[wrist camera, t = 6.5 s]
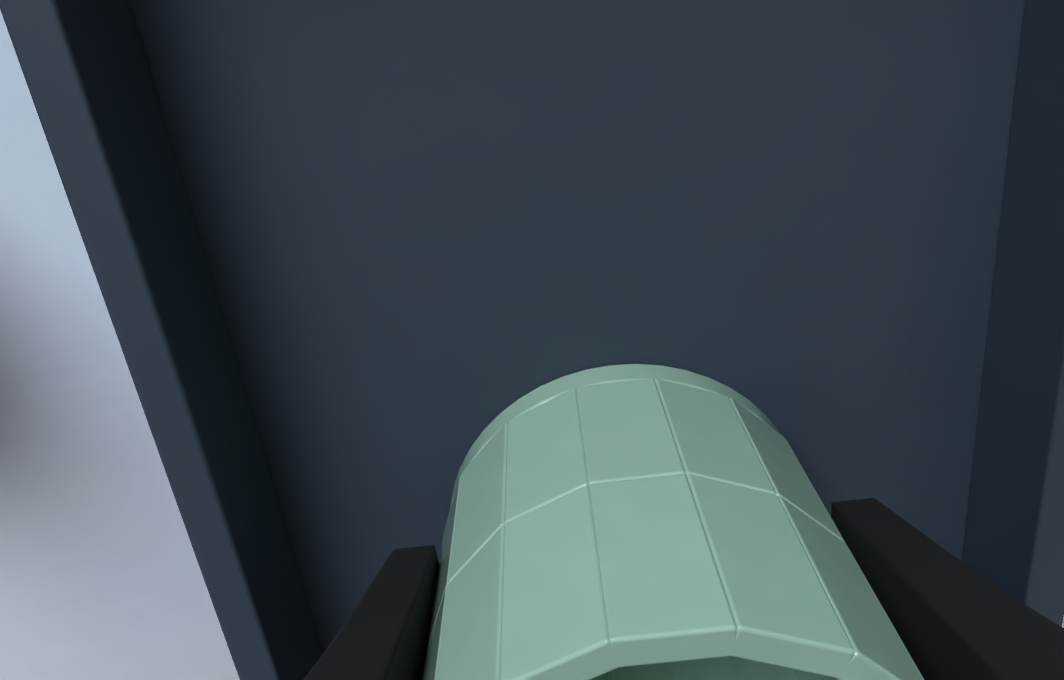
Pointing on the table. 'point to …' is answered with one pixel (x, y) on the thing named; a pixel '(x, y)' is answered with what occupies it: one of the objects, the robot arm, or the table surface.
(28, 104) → the table surface
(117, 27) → the tray
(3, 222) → the table surface
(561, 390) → the green cup
